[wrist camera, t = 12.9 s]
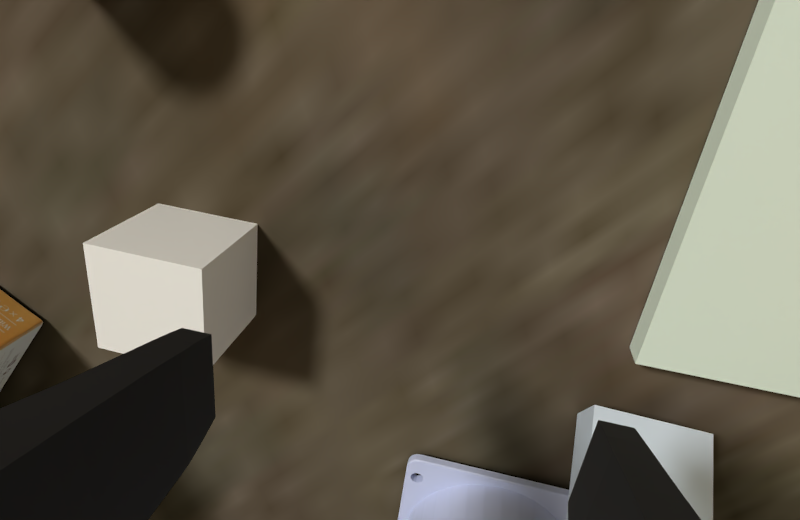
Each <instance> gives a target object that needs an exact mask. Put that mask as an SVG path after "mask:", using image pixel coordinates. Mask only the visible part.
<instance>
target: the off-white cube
mask: <svg viewBox="0 0 800 520" xmlns="http://www.w3.org/2000/svg"><path fill="white" fill-rule="evenodd" d="M257 229H258V224H255V223H250V222H245V221H241V220H236V219H231V218H226V217H221V216H216V215H212V214H207V213H202V212H197V211H192V210H187V209H183V208H178V207H173V206H168V205H163V204H156V205H155V206H153V207H151V208H149V209H147V210H145V211H143V212H141V213H139V214H137V215H136V216H134V217H132V218H130V219H128V220H126V221H124V222H122V223H120V224H118V225H116V226H115V227H113V228H111V229H109V230H107V231H105V232H103V233H101V234H99V235H97V236H96V237H94V238H92V239H90V240H88V241H86V242H84V243H83V247H84V254H85V261H86V268H87V275H88V281H89V288H90V295H91V302H92V309H93V315H94V322H95V329H96V336H97V343H98V348H102V349H106V350H111V351H115V352H119V353H123V354H125V353H127V352H129V351H131V350H133V349H135V348H137V347H139V346H142V345H144V344H146V343H148V342H150V341H152V340H155V339H157V338H159V337H161V336H163V335H166V334H168V333H170V332H173V331H175V330H178V329H180V328H185V329H190V330H194V331H199V332H203V333H208V334H211V335H212V356H213V365H214V363H215V362H216V361H217V360H218V359H219V358H220V356H221V355H222V354H223V353H224V352H225V351H226V349H227V348H228V347H229V346H230V345H231V344H232V343H233V341H234V340H235V339H236V338H237V337H238V336H239V334H240V333H241V332H242V331H243V330H244V329H245V327H246V326H247V325H248V324H249V323H250V322H251V321H252V319H253V318H254V317H255V316H256V293H257Z"/></svg>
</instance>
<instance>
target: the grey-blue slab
mask: <svg viewBox="0 0 800 520" xmlns="http://www.w3.org/2000/svg"><path fill="white" fill-rule="evenodd" d="M598 420H601V421H606V422H610V423H615V424H619V425H624V426H628V427H633V428H635V429H636V430H637V432H638V433H639V434H640V436H641V437H642V439H643V440H644V441H645V443H646V444H647V445H648V447H649V448H650V450H651V451H652V452H653V454H654V455H655V457H656V458H657V459H658V461H659V462H660V464H661V465H662V467H663V468H664V469H665V471H666V472H667V474H668V475H669V476H670V478H671V479H672V480H673V482H674V483H675V485H676V486H677V487H678V489H679V490H680V492H681V493H682V494H683V496H684V497H685V498H686V500H687V501H688V502H689V504H690V505H691V507H692V508H693V509H694V511H695V512H696V513H697V515H698V516H699V517H700V519H701V520H713V434H711V433H707V432H703V431H699V430H695V429H691V428H687V427H683V426H679V425H675V424H671V423H667V422H662V421H658V420H654V419H650V418H646V417H642V416H638V415H634V414H630V413H626V412H622V411H618V410H614V409H610V408H606V407H602V406H597V405H593V406H591V407H589V408H587V409H585V410H583V411H582V412H580V413H578V414H577V423H576V432H575V441H574V451H573V460H572V469H571V478H570V488H569V497H568V501H569V498H570V495H571V493H572V490H573V487H574V484H575V482H576V479H577V476H578V474H579V471H580V468H581V465H582V463H583V460H584V457H585V455H586V452H587V449H588V446H589V444H590V441H591V438H592V436H593V433H594V430H595V427H596V425H597V422H598ZM566 520H568V506H567V515H566Z"/></svg>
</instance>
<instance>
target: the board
mask: <svg viewBox="0 0 800 520" xmlns="http://www.w3.org/2000/svg"><path fill="white" fill-rule="evenodd" d="M630 350H631V353H632V356H633V358H634V361H635V364H640V365H644V366H649V367H654V368H659V369H664V370H669V371H674V372H678V373H683V374H688V375H693V376H698V377H703V378H707V379H712V380H717V381H722V382H727V383H732V384H737V385H741V386H746V387H751V388H756V389H761V390H766V391H770V392H775V393H780V394H785V395H790V396H795V397H800V0H759V1H758V4H757V6H756V9H755V12H754V14H753V17H752V20H751V23H750V25H749V28H748V31H747V33H746V36H745V39H744V41H743V44H742V47H741V49H740V52H739V55H738V57H737V60H736V63H735V65H734V68H733V71H732V73H731V76H730V79H729V82H728V84H727V87H726V90H725V92H724V95H723V98H722V100H721V103H720V106H719V108H718V111H717V114H716V116H715V119H714V122H713V124H712V127H711V130H710V132H709V135H708V138H707V141H706V143H705V146H704V149H703V151H702V154H701V157H700V159H699V162H698V165H697V167H696V170H695V173H694V175H693V178H692V181H691V183H690V186H689V189H688V191H687V194H686V197H685V200H684V202H683V205H682V208H681V210H680V213H679V216H678V218H677V221H676V224H675V226H674V229H673V232H672V234H671V237H670V240H669V242H668V245H667V248H666V250H665V253H664V256H663V259H662V261H661V264H660V267H659V269H658V272H657V275H656V277H655V280H654V283H653V285H652V288H651V291H650V293H649V296H648V299H647V301H646V304H645V307H644V309H643V312H642V315H641V318H640V320H639V323H638V326H637V328H636V331H635V334H634V336H633V339H632V342H631V344H630Z"/></svg>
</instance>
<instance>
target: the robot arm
mask: <svg viewBox="0 0 800 520" xmlns="http://www.w3.org/2000/svg"><path fill="white" fill-rule="evenodd" d="M214 419H215V399H214V378H213V356H212V335H211V334H208V333H203V332H199V331H194V330H190V329H185V328H180V329H178V330H175V331H173V332H170V333H168V334H166V335H163V336H161V337H159V338H157V339H155V340H152V341H150V342H148V343H146V344H144V345H142V346H139V347H137V348H135V349H133V350H131V351H129V352H127V353H125V354H122V355H120V356H118V357H116V358H114V359H112V360H110V361H107V362H105V363H103V364H101V365H99V366H97V367H94V368H92V369H90V370H88V371H86V372H84V373H81V374H79V375H77V376H75V377H73V378H71V379H68V380H66V381H64V382H62V383H59V384H57V385H54V386H52V387H50V388H47V389H45V390H43V391H40V392H38V393H36V394H33V395H31V396H28V397H26V398H24V399H21V400H19V401H17V402H14V403H12V404H10V405H7V406H5V407H2V408H0V520H148V519H149V518H150V516H151V515H152V514H153V512H154V511H155V510H156V508H157V507H158V506H159V504H160V503H161V502H162V500H163V499H164V498H165V496H166V495H167V494H168V492H169V491H170V489H171V488H172V487H173V485H174V484H175V483H176V481H177V480H178V479H179V477H180V476H181V474H182V473H183V472H184V470H185V469H186V467H187V466H188V465H189V463H190V461H191V460H192V458H193V456H194V454H195V453H196V451H197V449H198V448H199V446H200V444H201V442H202V441H203V439H204V437H205V435H206V433H207V431H208V430H209V428H210V426H211V424H212V422H213V420H214ZM414 473H418V474H420V475H416V474H414ZM568 497H569V490H568V489H563V488H559V487H555V486H551V485H547V484H543V483H538V482H534V481H530V480H526V479H522V478H517V477H513V476H509V475H505V474H501V473H497V472H492V471H488V470H484V469H480V468H476V467H471V466H467V465H463V464H459V463H455V462H451V461H446V460H442V459H438V458H434V457H430V456H425V455H421V454H415V455H412V456H411V457H410V458H409V460H408V463H407V468H406V474H405V480H404V486H403V492H402V498H401V504H400V510H399V516H398V520H566V515H567V506H568V520H701V519H700V517H699V516H698V515H697V513H696V512H695V511H694V509H693V508H692V507H691V505H690V504H689V502H688V501H687V500H686V498H685V497H684V496H683V494H682V493H681V492H680V490H679V489H678V487H677V486H676V485H675V483H674V482H673V480H672V479H671V478H670V476H669V475H668V474H667V472H666V471H665V469H664V468H663V467H662V465H661V464H660V462H659V461H658V459H657V458H656V457H655V455H654V454H653V452H652V451H651V450H650V448H649V447H648V445H647V444H646V443H645V441H644V440H643V439H642V437H641V436H640V434H639V433H638V432H637V430H636V429H635V428H633V427H628V426H624V425H619V424H615V423H610V422H606V421H601V420H598V422H597V425H596V427H595V430H594V433H593V436H592V438H591V441H590V444H589V446H588V449H587V452H586V455H585V457H584V460H583V463H582V465H581V468H580V471H579V474H578V476H577V479H576V482H575V484H574V487H573V490H572V493H571V495H570V498H569V501H568Z"/></svg>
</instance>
